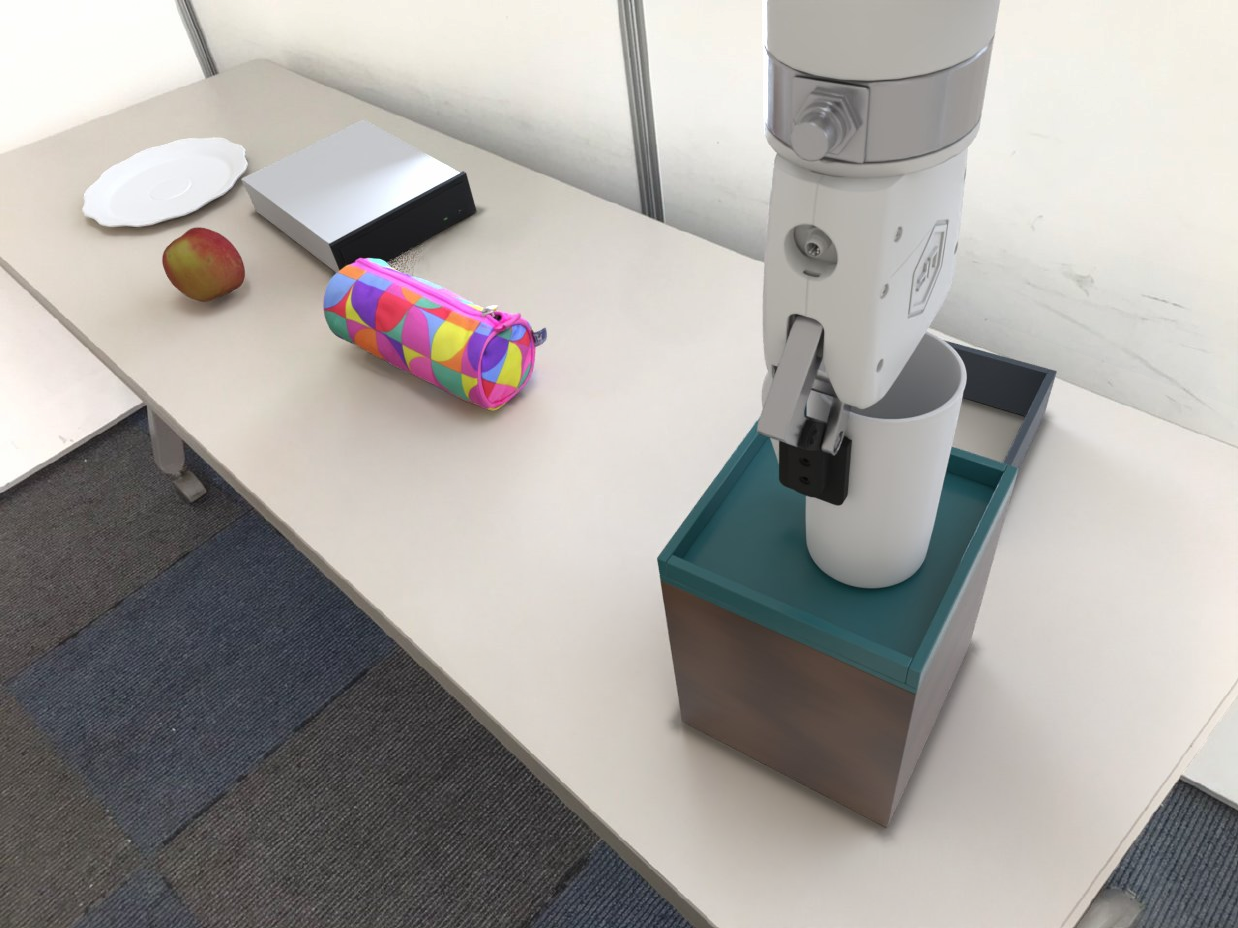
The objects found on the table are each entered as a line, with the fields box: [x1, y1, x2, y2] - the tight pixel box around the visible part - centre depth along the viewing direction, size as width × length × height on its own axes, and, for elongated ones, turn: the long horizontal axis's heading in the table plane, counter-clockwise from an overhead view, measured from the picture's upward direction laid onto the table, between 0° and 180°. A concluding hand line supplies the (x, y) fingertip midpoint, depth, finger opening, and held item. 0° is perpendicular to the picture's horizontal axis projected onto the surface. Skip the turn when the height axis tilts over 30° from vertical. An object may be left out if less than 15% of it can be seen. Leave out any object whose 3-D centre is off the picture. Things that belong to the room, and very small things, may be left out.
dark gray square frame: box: [943, 339, 1058, 471], centre depth 74 cm, size 14×14×5 cm
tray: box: [656, 403, 1019, 694], centre depth 51 cm, size 14×14×2 cm
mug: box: [761, 330, 967, 588], centre depth 47 cm, size 10×7×12 cm, turn 47°
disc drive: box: [241, 118, 477, 274], centre depth 110 cm, size 18×22×5 cm
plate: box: [81, 136, 249, 228], centre depth 121 cm, size 21×21×2 cm
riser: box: [659, 492, 1013, 829], centre depth 57 cm, size 14×14×16 cm
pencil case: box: [322, 258, 548, 411], centre depth 87 cm, size 22×9×9 cm, turn 56°
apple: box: [161, 226, 246, 303], centre depth 101 cm, size 8×8×8 cm
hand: (846, 437), depth 46 cm, fingers closed on mug, 6 cm apart
